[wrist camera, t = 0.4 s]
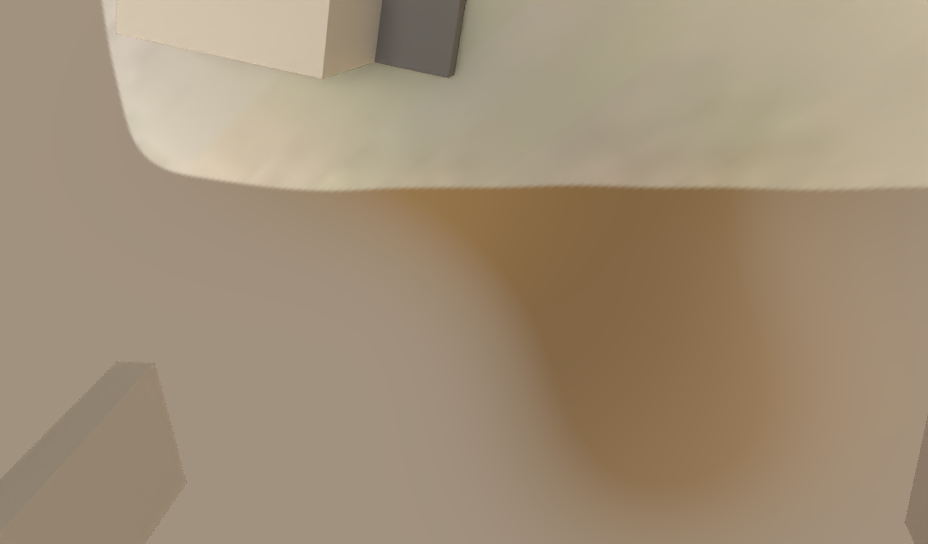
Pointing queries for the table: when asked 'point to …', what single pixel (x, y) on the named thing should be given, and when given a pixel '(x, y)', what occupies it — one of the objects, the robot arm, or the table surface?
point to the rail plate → (305, 32)
